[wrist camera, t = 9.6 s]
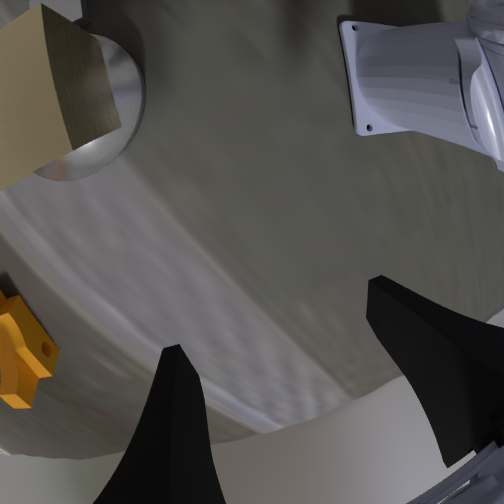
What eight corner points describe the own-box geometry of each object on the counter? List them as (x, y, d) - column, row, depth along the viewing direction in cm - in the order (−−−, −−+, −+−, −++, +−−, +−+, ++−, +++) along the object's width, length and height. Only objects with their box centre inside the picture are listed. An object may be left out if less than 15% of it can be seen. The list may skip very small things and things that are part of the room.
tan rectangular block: (99, 40, 10) (40, 2, 4) (121, 127, 12) (72, 150, 6) (19, 83, 9) (-65, 90, 3) (42, 164, 12) (-33, 214, 6)
